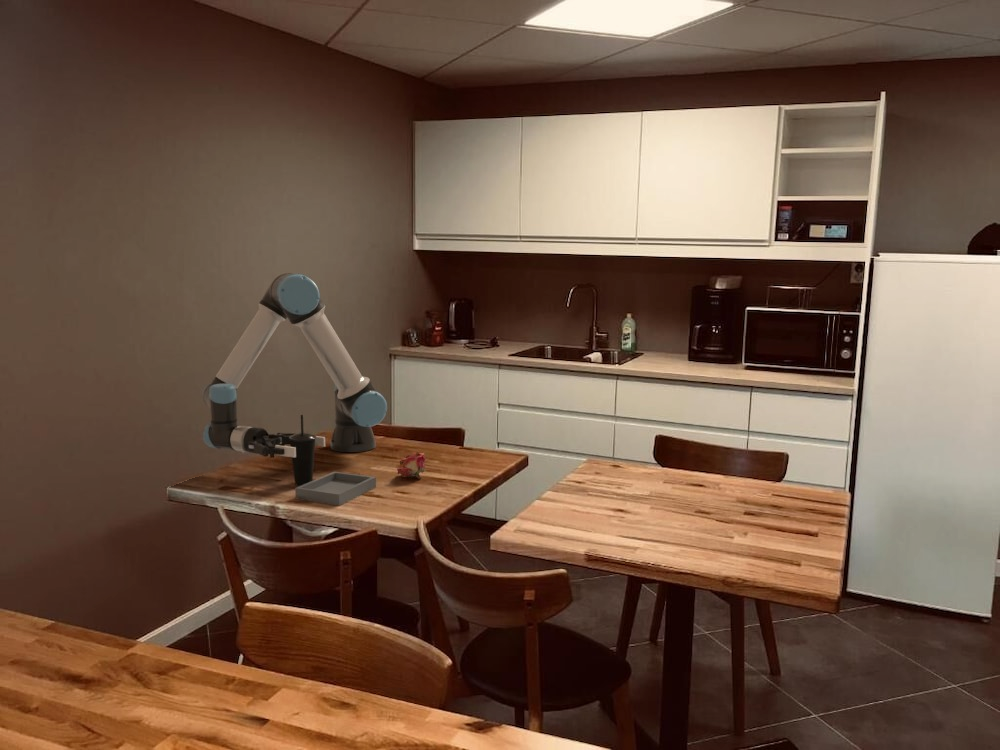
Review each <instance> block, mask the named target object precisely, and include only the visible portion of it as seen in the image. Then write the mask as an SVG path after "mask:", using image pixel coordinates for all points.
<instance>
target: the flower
mask: <svg viewBox="0 0 1000 750" xmlns="http://www.w3.org/2000/svg"><path fill="white" fill-rule="evenodd" d="M424 455H425V452H423V453H419V451H413V452H412V453H411V454H407V455H406V456H405V457H404V458H401V459H400V460H399V466H401V467H397V469H396V470H397V474H398V475H399V474H400V475H401V476H402V478H409V477H413V476H415V477H417V479H418V480H420V479H422V478H421V476H420V473H422V474H423V473H425V472H426V471H427V469H426V468H425V467H426V466H425V463H426V457H425V456H424Z"/></svg>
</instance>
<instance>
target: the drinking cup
mask: <svg viewBox="0 0 1000 750" xmlns="http://www.w3.org/2000/svg"><path fill="white" fill-rule="evenodd" d="M304 431H305V430H304V415H303V414H300V432H295V433H296V434H294V435H292V436H290V437H289V440H290V444H289V447H296V457H295V458H294V457H291V461H292V469H293V476H294V485H296V484H297V485H296V486H300V485H304V484H306V483H308V482H311V481H313V479H314V466H315V464H314V463H315V452H316V451H315V450H316V449H315V448H316V446H315V439H316V436H317V435H315V434H312V433H310V432H308V431H306V432H304ZM307 432H308V433H307Z"/></svg>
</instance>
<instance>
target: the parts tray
mask: <svg viewBox="0 0 1000 750" xmlns="http://www.w3.org/2000/svg"><path fill="white" fill-rule="evenodd" d="M376 477H377V476H371V475H363V474H355V473H347V472H341V471H340V472H339V471H332V472H330V473H328V474H325V475H323V476H320V477H318V478H316V479H314V480H313V481H311V482H308V483H306V484H304V485H301V486H300V485H298V486H297V487H295V488H294V491H295V499H296V498H298V499H297V500H300V499H303V500H302V501H306V500H309V501H308V502H313V501H316V502H315V503H319V502H320V504H326V503H327V504H328V505H331V506H333V505H334V506H341V505H344V504H345V503H347V502H350V501H351V500H353V499H356V498H357V496H358V497H359V496H362V495H364V494H366V493H368V492H369V490H370V491H372V490H374V489H376V488H377V478H376ZM375 487H376V488H375ZM373 488H374V489H373ZM371 489H372V490H371ZM367 491H368V492H367ZM365 492H366V493H365Z"/></svg>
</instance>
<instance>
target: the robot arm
mask: <svg viewBox="0 0 1000 750" xmlns="http://www.w3.org/2000/svg"><path fill="white" fill-rule="evenodd" d="M325 309H326V304H325V303H324V301H323V300H322V298H321V296H320V291H319V287H318V286H317V284H316V283H315V282H314V280H312V279H311V278H310V277H308V276H307V275H304V274H300V273H290V272H289V273H287V272H286V273H283V274H280V275H278V276H276V277H275V278H274V279H273V280H272V281H271V283H270V285H269V287H268V288H267V289H266V291H265V292H264V295H263V296H262V298H261V300H260V301H259V302H258V310H257V312H256V313H255V315H254V317H253V318H252V320H251V321H250V323H249V324H248V326H247V327H246V329H245V330H244V332H243V333H242V335H241V337H240V338H239V340H238V341H237V342H236V344H235V345H234V347H233V349H232V351H231V352H230V353H229V355H227V358H226V359H225V361H224V363H223V364H222V366H221V368H220V369H218V372H217V374H216V375H215V377H214V378H213V379H212V381H211V383H209V384H207V385H206V386H205V387H204V388H203V391H202V399H203V401H204V404H205V405H206V406H208V408H209V411H210V423H208V424H206V425H205V427H204V431H203V433H202V440H203V442H204V444H205V445H206V446H208V447H209V448H213V449H218V450H227V451H235V452H236V451H237V452H241V453H242V454H245V453H249V454H258V455H261V456H262V457H270V459H273V458H275V456H281V457H287V458H292V457H294V458H295V457H296V447H291V446H287V445H290V440H289V437H290V436H292V435H294V434H296V433H297V432H292V433H291V432H290V433H288V432H287V433H286V432H277V433H276V434H275V433H270V434H269V433H268V431H267V430H266V429H265V428H262V427H254V426H253V427H252V426H246V425H238V410H237V409H238V407H237V406H238V405H237V404H238V403H237V397H238V395H237V390H238V388H239V386H240V385H241V384H242V382H243V380H244V379H245V377H246V376H247V374H248V372H249V371H250V370H251V368H252V367H253V365H254V363H255V362H256V360H257V359H258V357H259V355H260V354H261V352H262V351H263V350H264V348H265V347H266V345H267V344H268V342H269V340H270V338H271V337H272V335H273V334H274V333H275V331H276V329H277V328H278V326H279V324H280V323H282V322H286V320H287V319H288V320H289V322H290V324H291V326H294V327H295V326H296V327H298V328H299V329H300V330H301V332H302V334H303V336H304V337H305V338H306V341H308V343H309V345H310V346H311V348H312V350H313V351H314V352H315V355H316V356H317V357H318V359H319V361H320V363H321V364H322V366H323V368H325V371H326V372H327V374H328V376H329V377H330V378H331V380H332V382H333V383H334V390H333V393H334V418H335V419H334V420H335V421H334V423H335V424H334V429H333V432H332V435H331V436H332V437H331V439H330V449H331V450H333V451H334V452H339V453H360V452H366V451H371V450H374V449H375V448H376V446H377V445H376V444H377V443H376V438H375V435H374V432H373V429H372V427H374V426H376V425H379V424H380V423H381V422H382V421H383V420H384V419H385V416H386V414H387V411H388V404H387V400H386V398H385V397H384V395H382V393H380V392H378V391H377V388H376V387H375V386H374V384H373V382H372V381H371V379H370V378H369V377H367V376H363V375H362V374H361V372H360V370H359V368H358V367H357V365H356V364H355V362H354V360H353V359H352V356H351V355H350V354H349V351H348V350H347V349H346V347H345V345H344V344H343V342H342V341H341V339H340V338H339V336H338V334H337V332H336V331H335V329H334V327H333V326H332V324H331V323H330V321H329V319H328V317H327V315H326V314H325ZM306 432H307V433H309V432H308V431H306ZM315 436H316V439H315V447H322V448H323V447H326V437H325V436H320V435H319V436H318V435H315Z"/></svg>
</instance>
